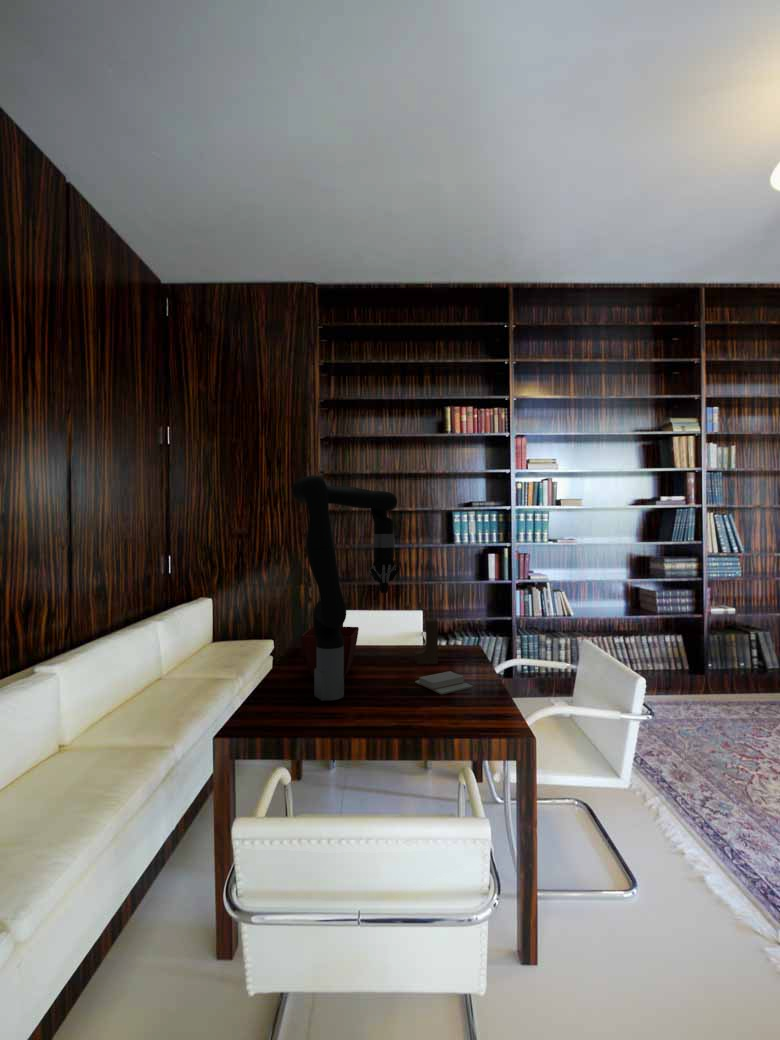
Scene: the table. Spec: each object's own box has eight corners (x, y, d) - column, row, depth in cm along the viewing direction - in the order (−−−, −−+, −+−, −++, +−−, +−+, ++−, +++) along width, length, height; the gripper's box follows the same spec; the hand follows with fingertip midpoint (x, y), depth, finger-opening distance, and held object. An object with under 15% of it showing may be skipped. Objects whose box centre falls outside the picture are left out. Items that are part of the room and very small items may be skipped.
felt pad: (441, 694, 183) (441, 692, 183) (415, 682, 196) (415, 680, 196) (472, 687, 190) (472, 685, 190) (445, 676, 204) (445, 674, 204)
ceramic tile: (432, 682, 186) (463, 676, 193) (419, 677, 193) (449, 671, 200) (432, 690, 186) (463, 683, 193) (419, 684, 193) (449, 677, 200)
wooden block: (416, 664, 220) (416, 621, 220) (415, 661, 225) (415, 619, 225) (438, 664, 221) (437, 621, 220) (436, 661, 225) (436, 619, 225)
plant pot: (359, 667, 217) (359, 626, 217) (351, 681, 198) (351, 636, 198) (313, 666, 219) (313, 625, 219) (301, 680, 200) (300, 635, 200)
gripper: (373, 547, 191) (373, 595, 191) (404, 546, 198) (404, 592, 198) (363, 546, 197) (363, 593, 197) (393, 545, 204) (393, 590, 204)
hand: (383, 592), depth 197 cm, fingers closed
